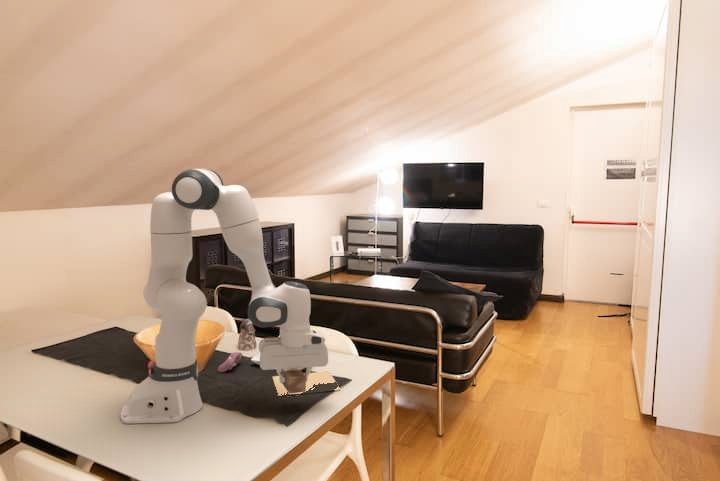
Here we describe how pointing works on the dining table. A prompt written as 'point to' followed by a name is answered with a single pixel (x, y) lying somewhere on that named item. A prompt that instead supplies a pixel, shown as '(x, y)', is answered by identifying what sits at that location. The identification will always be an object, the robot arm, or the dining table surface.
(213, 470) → the dining table surface
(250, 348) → the figurine
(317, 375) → the cork mat
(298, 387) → the walnut card box
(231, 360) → the pink oblong lump
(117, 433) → the dining table surface
